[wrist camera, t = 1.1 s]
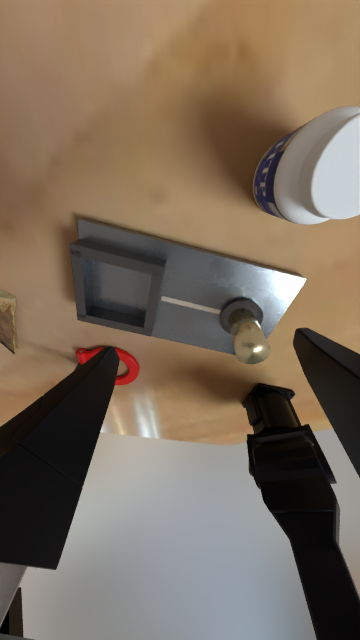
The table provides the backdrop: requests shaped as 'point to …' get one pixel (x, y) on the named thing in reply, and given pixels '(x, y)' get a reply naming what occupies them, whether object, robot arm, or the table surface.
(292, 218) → the pill bottle
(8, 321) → the shard
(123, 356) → the tow hook
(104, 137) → the table surface
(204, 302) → the metal plate with knob
